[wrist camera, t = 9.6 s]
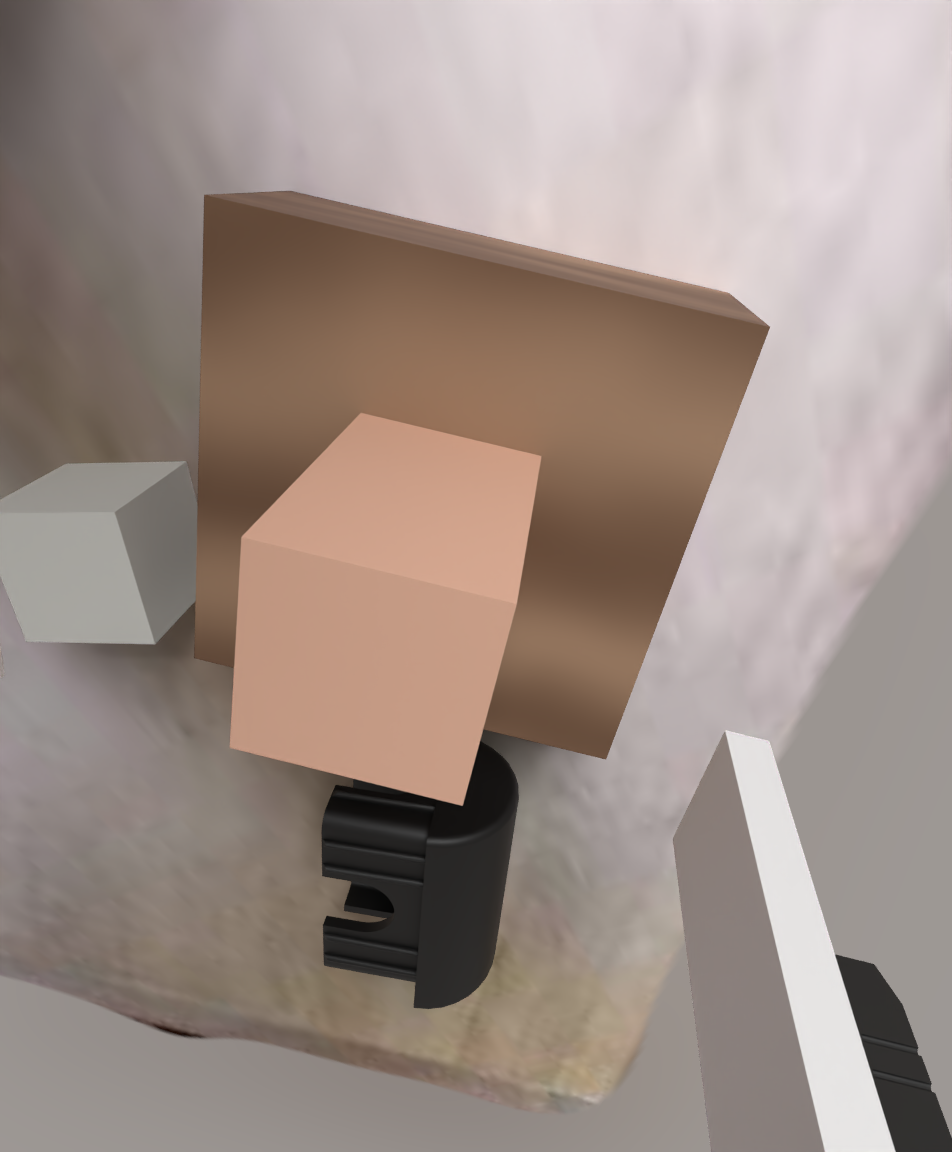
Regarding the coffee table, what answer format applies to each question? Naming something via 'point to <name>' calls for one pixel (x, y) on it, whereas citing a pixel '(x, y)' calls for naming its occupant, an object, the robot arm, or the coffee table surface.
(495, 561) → the terracotta block
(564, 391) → the walnut block
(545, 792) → the coffee table surface
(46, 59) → the coffee table surface
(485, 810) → the end cap
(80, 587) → the grey cube
